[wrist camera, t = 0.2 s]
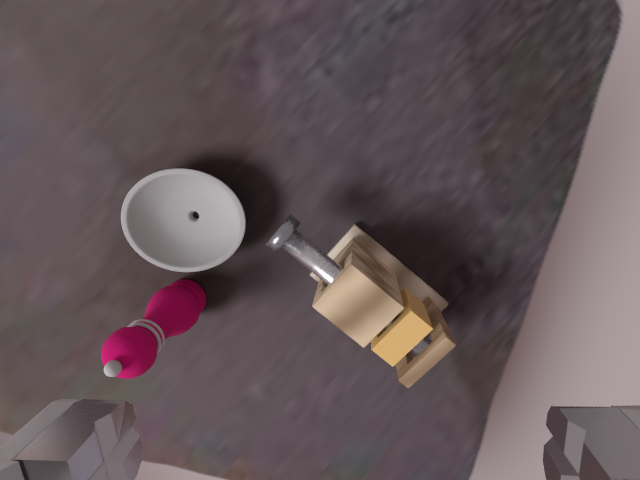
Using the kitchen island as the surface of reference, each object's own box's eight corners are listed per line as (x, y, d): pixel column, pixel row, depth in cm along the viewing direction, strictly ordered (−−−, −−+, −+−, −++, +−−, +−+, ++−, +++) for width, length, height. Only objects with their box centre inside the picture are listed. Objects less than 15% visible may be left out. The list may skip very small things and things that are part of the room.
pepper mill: (190, 267, 59) (109, 331, 40) (218, 304, 60) (153, 383, 41) (156, 290, 61) (63, 363, 42) (184, 325, 62) (106, 411, 43)
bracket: (310, 272, 58) (297, 309, 45) (354, 223, 55) (353, 248, 43) (400, 345, 59) (411, 400, 47) (447, 301, 57) (471, 347, 45)
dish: (247, 159, 54) (236, 161, 49) (261, 256, 58) (253, 268, 53) (130, 171, 56) (108, 175, 51) (151, 264, 60) (133, 276, 55)
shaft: (270, 238, 50) (261, 249, 45) (293, 210, 48) (286, 219, 44) (413, 354, 52) (418, 376, 48) (438, 331, 51) (446, 350, 46)
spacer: (369, 322, 54) (371, 349, 47) (404, 287, 52) (411, 310, 45) (388, 337, 54) (392, 366, 47) (423, 303, 52) (433, 329, 46)
